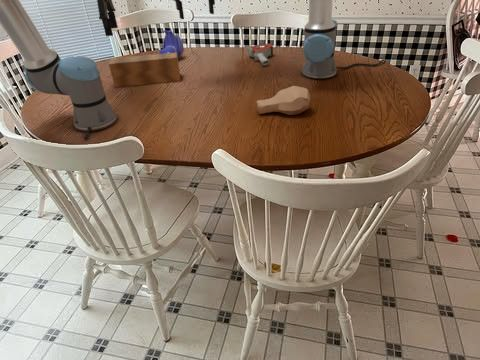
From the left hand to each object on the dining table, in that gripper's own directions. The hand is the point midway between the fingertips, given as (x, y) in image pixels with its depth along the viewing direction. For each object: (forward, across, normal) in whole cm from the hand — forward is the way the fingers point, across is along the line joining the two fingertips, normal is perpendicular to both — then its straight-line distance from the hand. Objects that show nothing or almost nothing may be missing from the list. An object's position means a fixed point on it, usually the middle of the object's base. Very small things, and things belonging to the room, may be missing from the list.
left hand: (112, 31), depth 152 cm
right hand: (-4, -5, -37) cm, 37 cm away
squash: (+23, -48, -64) cm, 83 cm away
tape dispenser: (+23, +16, -67) cm, 73 cm away
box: (+23, 0, -11) cm, 25 cm away
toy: (+23, +26, -21) cm, 40 cm away
